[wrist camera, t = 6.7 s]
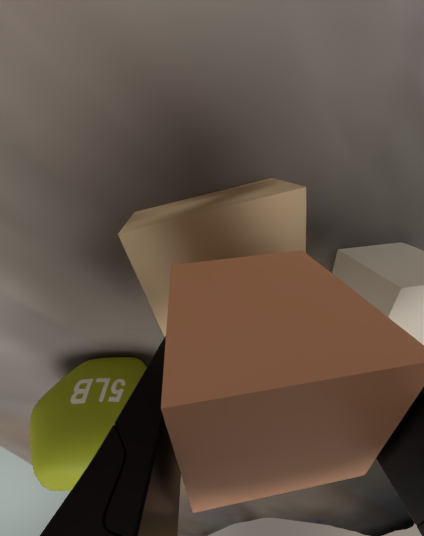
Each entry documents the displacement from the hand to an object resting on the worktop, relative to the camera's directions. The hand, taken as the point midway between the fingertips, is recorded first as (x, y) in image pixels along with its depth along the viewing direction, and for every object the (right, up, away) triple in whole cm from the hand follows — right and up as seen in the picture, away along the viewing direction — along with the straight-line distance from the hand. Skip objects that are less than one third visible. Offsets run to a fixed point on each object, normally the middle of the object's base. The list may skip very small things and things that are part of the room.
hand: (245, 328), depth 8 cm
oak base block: (-1, +3, +6) cm, 7 cm away
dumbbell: (-10, -11, +12) cm, 19 cm away
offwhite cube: (+10, +2, +8) cm, 13 cm away
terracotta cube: (0, +1, +1) cm, 1 cm away
